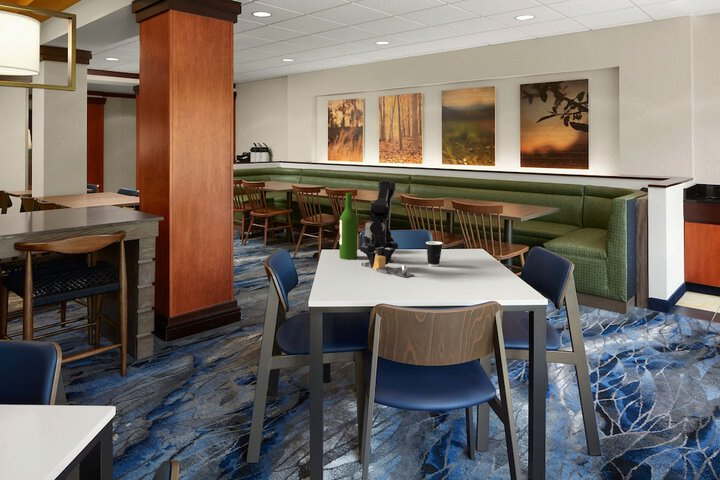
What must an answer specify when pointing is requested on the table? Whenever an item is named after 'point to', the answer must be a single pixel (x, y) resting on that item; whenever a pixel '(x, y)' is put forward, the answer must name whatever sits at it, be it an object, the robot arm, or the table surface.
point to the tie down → (380, 265)
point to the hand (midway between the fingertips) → (379, 265)
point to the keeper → (404, 272)
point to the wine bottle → (348, 231)
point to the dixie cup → (434, 253)
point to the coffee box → (369, 232)
